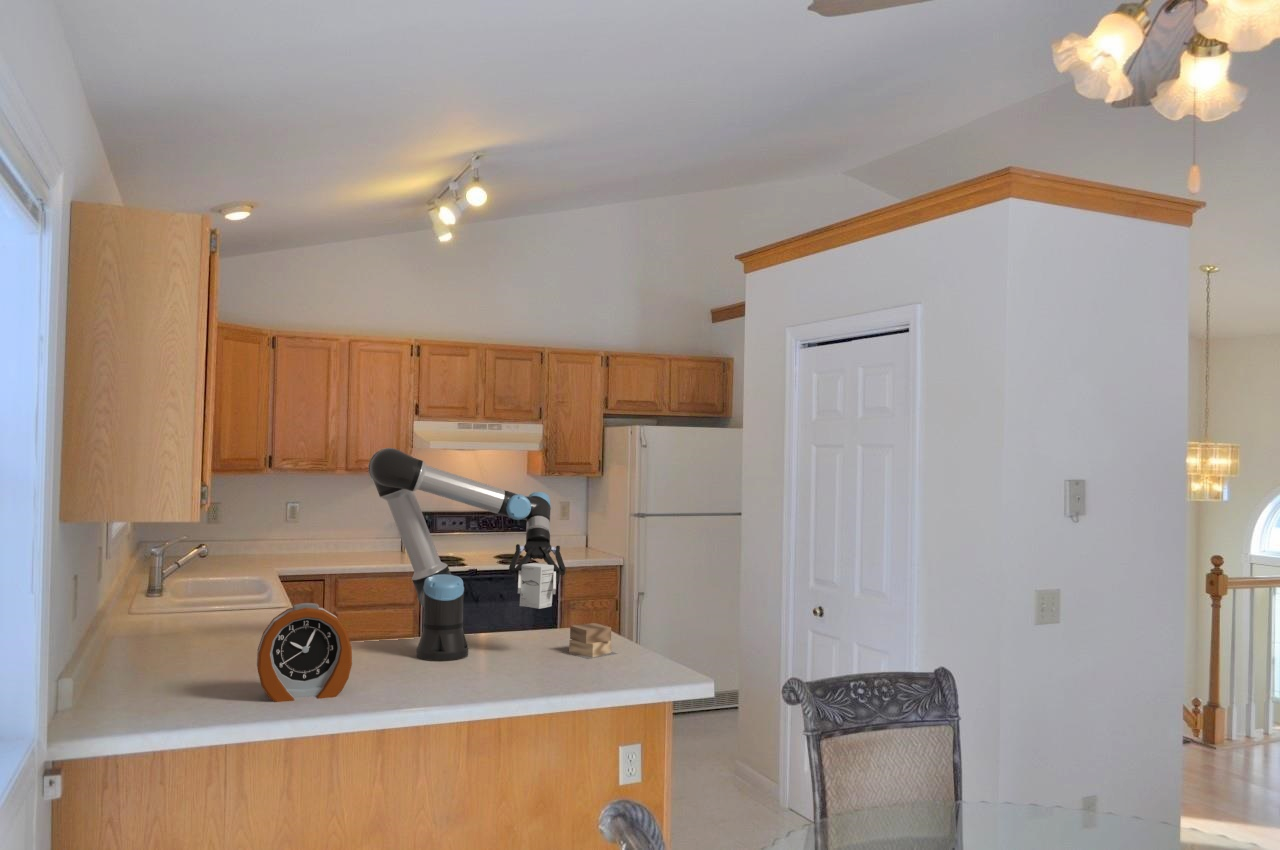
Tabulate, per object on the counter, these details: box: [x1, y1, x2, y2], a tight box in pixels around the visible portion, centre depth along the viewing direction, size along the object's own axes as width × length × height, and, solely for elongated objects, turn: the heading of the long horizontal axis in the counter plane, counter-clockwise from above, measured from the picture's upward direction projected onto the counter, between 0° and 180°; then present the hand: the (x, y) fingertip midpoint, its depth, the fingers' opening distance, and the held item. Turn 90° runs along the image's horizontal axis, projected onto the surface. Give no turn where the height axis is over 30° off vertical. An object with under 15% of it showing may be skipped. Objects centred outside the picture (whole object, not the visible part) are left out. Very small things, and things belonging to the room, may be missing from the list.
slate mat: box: [562, 651, 619, 660], centre depth 294 cm, size 12×12×1 cm
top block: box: [569, 622, 612, 644], centre depth 294 cm, size 9×9×4 cm
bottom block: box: [568, 639, 612, 657], centre depth 294 cm, size 9×9×4 cm
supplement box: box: [519, 562, 554, 610], centre depth 292 cm, size 7×7×13 cm
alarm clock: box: [256, 602, 353, 703], centre depth 242 cm, size 22×10×23 cm, turn 114°
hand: (536, 591), depth 289 cm, fingers closed on supplement box, 10 cm apart
